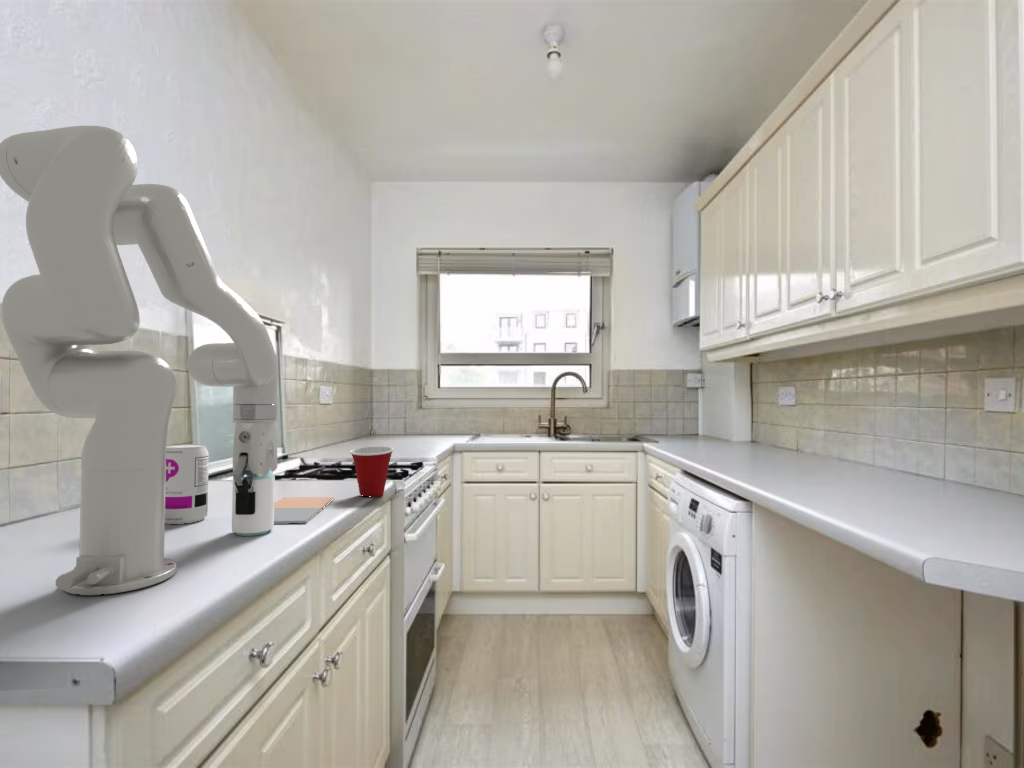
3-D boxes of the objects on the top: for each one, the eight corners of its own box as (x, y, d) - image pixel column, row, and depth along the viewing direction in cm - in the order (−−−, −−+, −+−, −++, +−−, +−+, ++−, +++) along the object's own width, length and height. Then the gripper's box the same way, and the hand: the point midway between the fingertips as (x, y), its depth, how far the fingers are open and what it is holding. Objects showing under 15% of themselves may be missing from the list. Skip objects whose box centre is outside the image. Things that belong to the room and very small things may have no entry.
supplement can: (169, 527, 102) (171, 449, 102) (153, 521, 107) (154, 446, 107) (214, 519, 108) (216, 446, 109) (196, 513, 113) (198, 443, 114)
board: (306, 523, 106) (306, 520, 106) (243, 524, 105) (243, 521, 105) (334, 499, 130) (334, 497, 130) (283, 500, 129) (283, 497, 129)
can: (271, 535, 97) (273, 469, 97) (228, 538, 95) (230, 470, 95) (275, 526, 104) (276, 464, 104) (235, 528, 102) (236, 465, 102)
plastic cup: (339, 498, 132) (340, 449, 132) (364, 490, 142) (365, 445, 143) (378, 501, 129) (379, 451, 129) (400, 493, 139) (401, 447, 139)
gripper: (258, 416, 91) (256, 520, 91) (290, 412, 109) (289, 500, 108) (212, 416, 91) (210, 521, 90) (252, 412, 108) (250, 500, 108)
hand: (253, 508), depth 99 cm, fingers closed on can, 6 cm apart
